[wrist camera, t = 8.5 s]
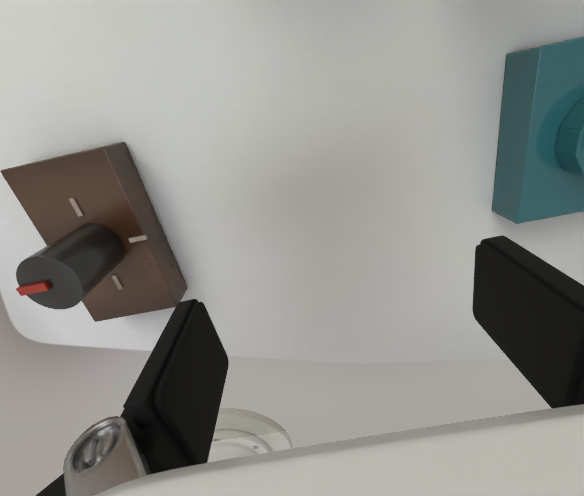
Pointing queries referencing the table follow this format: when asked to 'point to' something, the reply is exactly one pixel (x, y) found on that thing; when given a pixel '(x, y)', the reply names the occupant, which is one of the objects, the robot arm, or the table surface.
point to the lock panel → (104, 224)
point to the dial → (70, 266)
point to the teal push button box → (541, 133)
